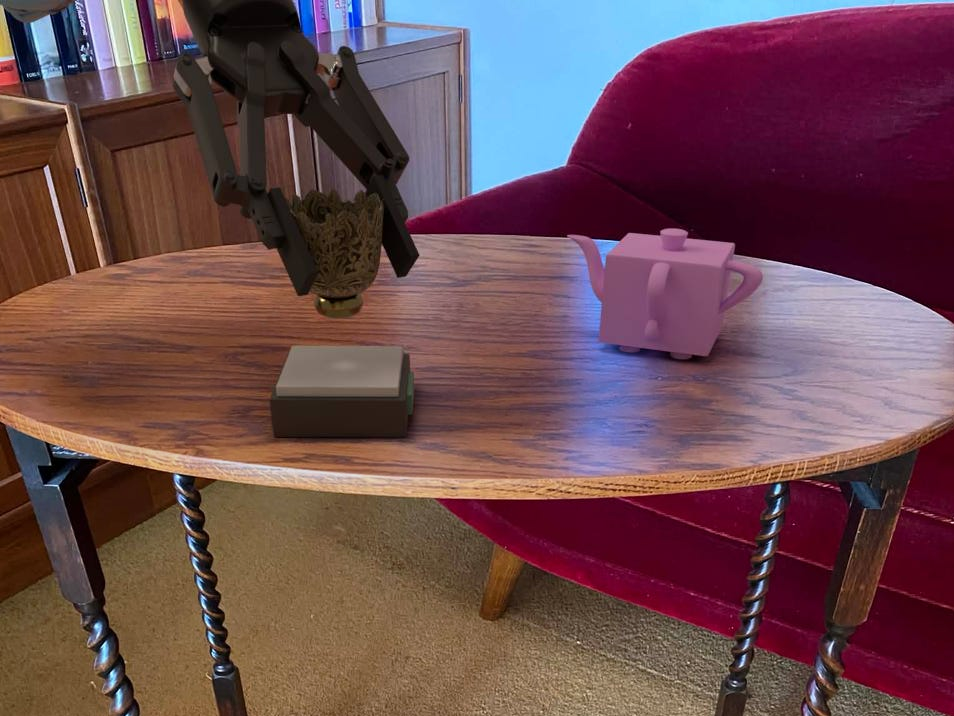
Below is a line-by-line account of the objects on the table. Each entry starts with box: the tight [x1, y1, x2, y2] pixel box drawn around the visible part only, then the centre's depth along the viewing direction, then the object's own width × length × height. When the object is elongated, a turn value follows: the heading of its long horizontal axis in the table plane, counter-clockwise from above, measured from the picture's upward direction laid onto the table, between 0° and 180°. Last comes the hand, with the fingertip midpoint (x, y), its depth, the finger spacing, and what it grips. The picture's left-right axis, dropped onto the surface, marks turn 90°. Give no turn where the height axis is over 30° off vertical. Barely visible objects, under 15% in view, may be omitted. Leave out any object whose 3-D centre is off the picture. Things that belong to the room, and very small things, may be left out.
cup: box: [285, 188, 384, 319], centre depth 70 cm, size 8×7×8 cm
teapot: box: [566, 228, 764, 360], centre depth 88 cm, size 18×14×10 cm
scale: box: [268, 345, 415, 438], centre depth 76 cm, size 10×10×4 cm
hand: (359, 275), depth 68 cm, fingers closed on cup, 7 cm apart
